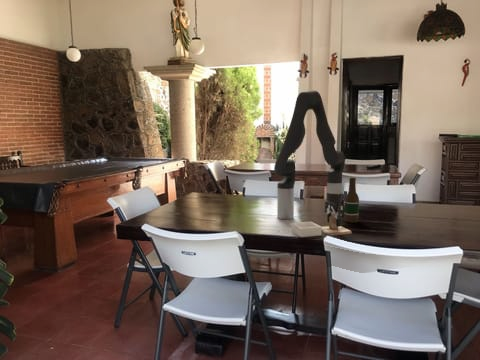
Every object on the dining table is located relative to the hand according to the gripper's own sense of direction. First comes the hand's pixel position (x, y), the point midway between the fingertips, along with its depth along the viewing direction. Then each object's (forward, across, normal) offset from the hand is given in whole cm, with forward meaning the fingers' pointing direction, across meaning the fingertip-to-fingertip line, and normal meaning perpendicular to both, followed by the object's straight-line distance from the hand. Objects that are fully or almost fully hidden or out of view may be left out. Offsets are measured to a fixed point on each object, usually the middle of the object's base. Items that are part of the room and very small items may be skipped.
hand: (333, 224), depth 189 cm
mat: (+4, 0, 0) cm, 4 cm away
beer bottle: (+4, -14, +19) cm, 24 cm away
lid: (+3, 0, 0) cm, 3 cm away
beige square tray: (+4, 0, -15) cm, 15 cm away
